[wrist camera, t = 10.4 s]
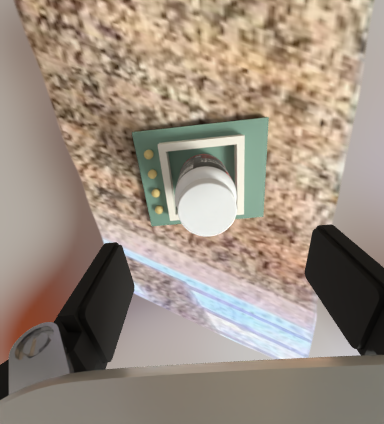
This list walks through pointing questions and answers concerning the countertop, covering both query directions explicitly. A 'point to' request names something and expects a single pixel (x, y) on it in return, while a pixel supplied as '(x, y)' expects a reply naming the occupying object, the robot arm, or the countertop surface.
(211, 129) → the board
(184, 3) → the countertop surface
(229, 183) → the pill bottle
